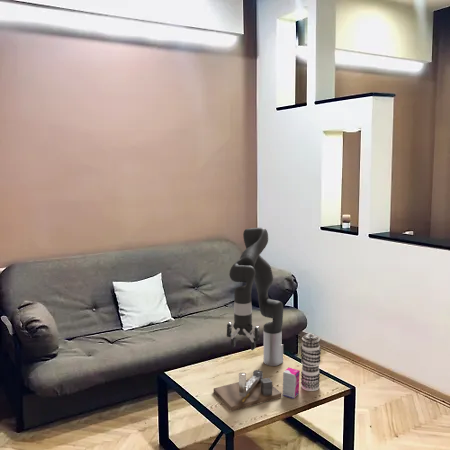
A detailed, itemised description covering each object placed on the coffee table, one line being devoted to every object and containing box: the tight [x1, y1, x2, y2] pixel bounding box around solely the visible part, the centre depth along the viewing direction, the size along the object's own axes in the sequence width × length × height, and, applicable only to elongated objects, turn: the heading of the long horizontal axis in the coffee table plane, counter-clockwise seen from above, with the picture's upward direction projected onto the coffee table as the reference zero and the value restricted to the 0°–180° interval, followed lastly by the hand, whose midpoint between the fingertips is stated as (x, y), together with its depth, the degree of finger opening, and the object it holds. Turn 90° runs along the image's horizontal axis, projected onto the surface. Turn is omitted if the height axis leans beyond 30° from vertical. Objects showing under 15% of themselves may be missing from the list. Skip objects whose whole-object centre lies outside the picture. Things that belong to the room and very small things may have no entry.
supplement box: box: [282, 367, 301, 399], centre depth 222 cm, size 6×6×12 cm
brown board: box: [213, 377, 283, 412], centre depth 223 cm, size 25×18×8 cm
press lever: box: [238, 369, 264, 397], centre depth 223 cm, size 22×4×12 cm, turn 155°
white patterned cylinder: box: [300, 333, 322, 392], centre depth 228 cm, size 9×9×25 cm
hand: (243, 348), depth 211 cm, fingers open, 8 cm apart
